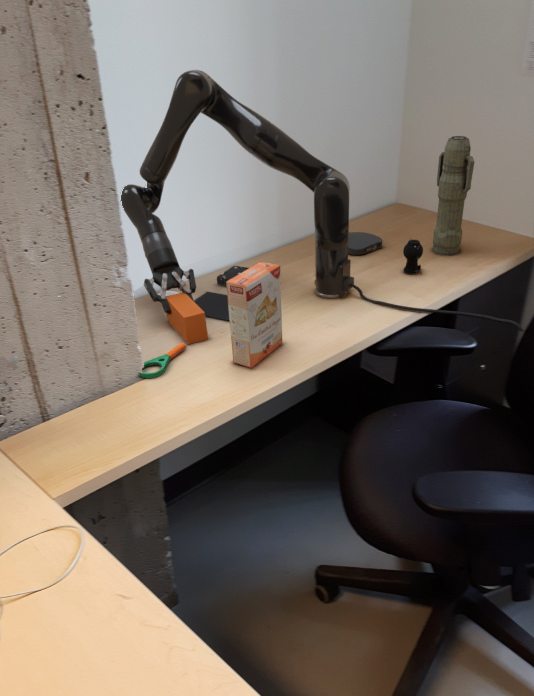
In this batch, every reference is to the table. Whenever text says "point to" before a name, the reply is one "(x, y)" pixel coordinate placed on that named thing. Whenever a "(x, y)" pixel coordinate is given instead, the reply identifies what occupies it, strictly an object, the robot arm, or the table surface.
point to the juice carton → (187, 318)
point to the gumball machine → (412, 256)
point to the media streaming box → (363, 243)
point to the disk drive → (230, 274)
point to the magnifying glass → (162, 361)
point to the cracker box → (255, 313)
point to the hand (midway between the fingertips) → (181, 310)
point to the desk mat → (214, 305)
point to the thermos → (452, 194)
